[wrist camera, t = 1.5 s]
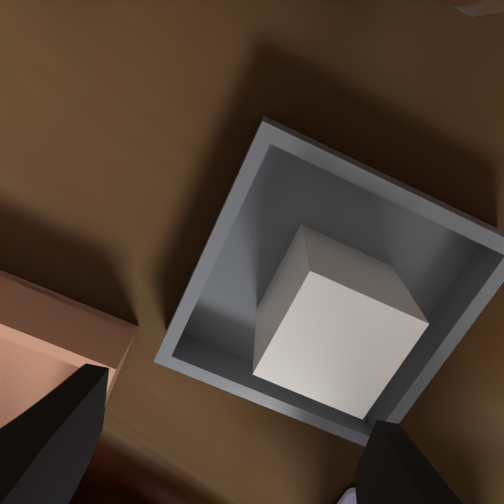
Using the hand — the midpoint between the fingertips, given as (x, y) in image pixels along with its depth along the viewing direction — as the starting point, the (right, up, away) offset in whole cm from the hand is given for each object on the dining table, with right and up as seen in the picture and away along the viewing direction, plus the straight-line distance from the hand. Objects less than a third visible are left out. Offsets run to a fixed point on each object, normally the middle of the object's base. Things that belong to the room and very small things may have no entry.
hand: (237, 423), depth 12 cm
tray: (+4, +3, +9) cm, 10 cm away
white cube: (+4, +3, +9) cm, 10 cm away
